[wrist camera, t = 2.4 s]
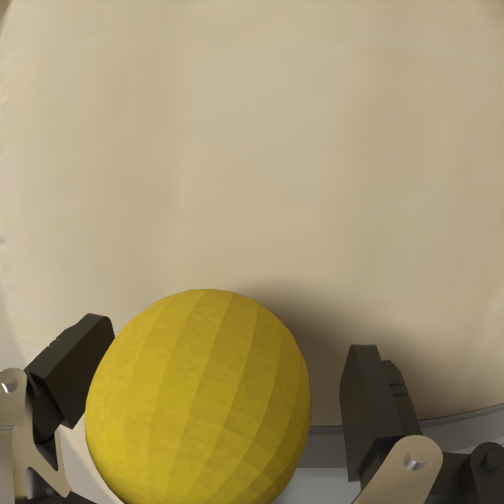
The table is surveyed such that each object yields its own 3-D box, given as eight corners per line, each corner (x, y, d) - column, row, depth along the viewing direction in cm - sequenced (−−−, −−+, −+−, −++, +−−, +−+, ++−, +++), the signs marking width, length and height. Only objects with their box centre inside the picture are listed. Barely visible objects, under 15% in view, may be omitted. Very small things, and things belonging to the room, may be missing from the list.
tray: (253, 422, 13) (246, 464, 10) (508, 402, 11) (522, 428, 9) (247, 514, 18) (243, 536, 16) (413, 506, 16) (416, 525, 14)
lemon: (160, 356, 12) (72, 511, 4) (164, 234, 10) (-21, 396, 2) (286, 386, 11) (268, 569, 4) (326, 269, 10) (372, 525, 2)
